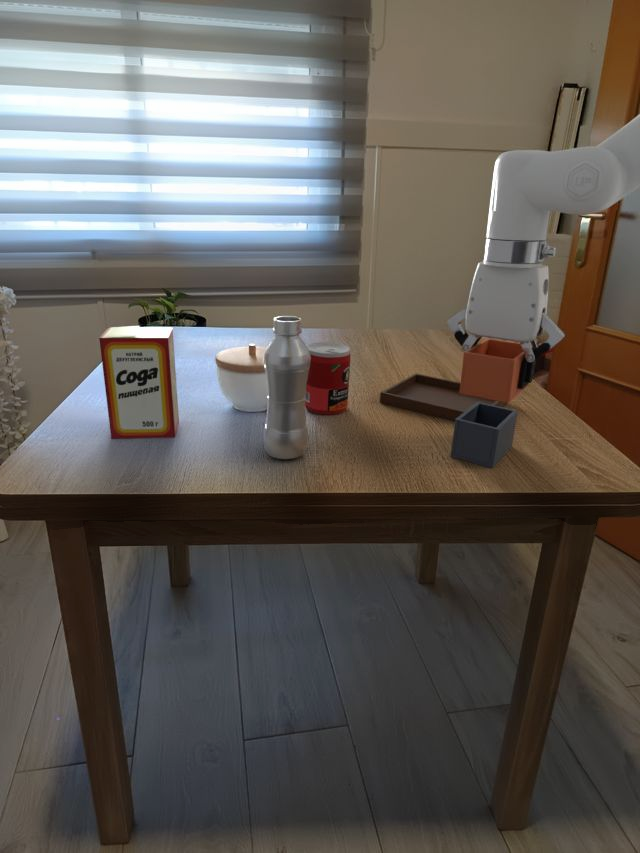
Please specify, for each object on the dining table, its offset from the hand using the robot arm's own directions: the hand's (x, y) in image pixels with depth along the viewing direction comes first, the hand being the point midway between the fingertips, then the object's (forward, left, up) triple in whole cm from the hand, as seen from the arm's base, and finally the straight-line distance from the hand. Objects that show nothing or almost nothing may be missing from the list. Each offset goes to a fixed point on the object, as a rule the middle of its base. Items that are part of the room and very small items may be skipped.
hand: (495, 380), depth 83 cm
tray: (+13, -17, -11) cm, 24 cm away
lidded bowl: (+40, +6, -12) cm, 42 cm away
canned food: (+29, -1, -12) cm, 32 cm away
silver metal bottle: (+23, +19, -12) cm, 32 cm away
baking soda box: (+46, +25, -12) cm, 54 cm away
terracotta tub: (0, 0, -1) cm, 1 cm away
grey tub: (0, 0, -11) cm, 11 cm away
